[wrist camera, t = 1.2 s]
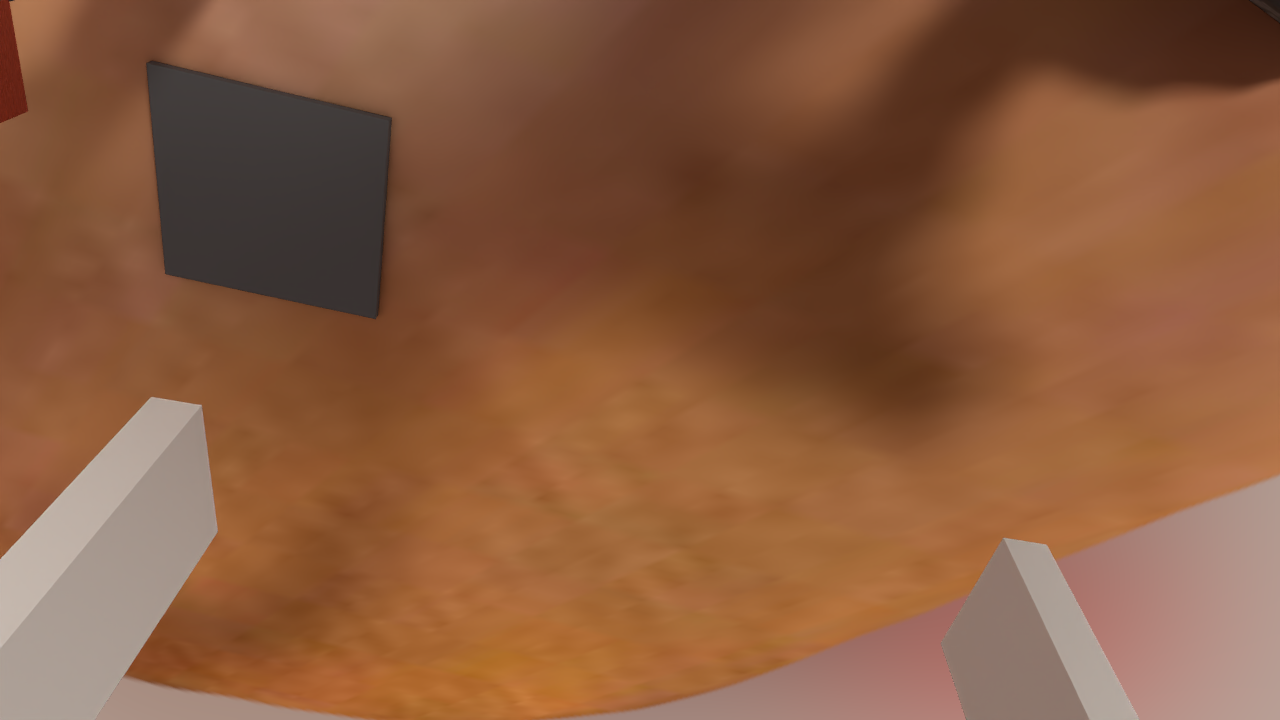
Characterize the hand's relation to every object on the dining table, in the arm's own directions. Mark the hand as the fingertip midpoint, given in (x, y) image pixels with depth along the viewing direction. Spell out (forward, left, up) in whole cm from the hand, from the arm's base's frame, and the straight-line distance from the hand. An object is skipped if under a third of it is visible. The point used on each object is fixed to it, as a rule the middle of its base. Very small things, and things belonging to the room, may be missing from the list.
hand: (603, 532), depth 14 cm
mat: (+8, -15, -25) cm, 30 cm away
